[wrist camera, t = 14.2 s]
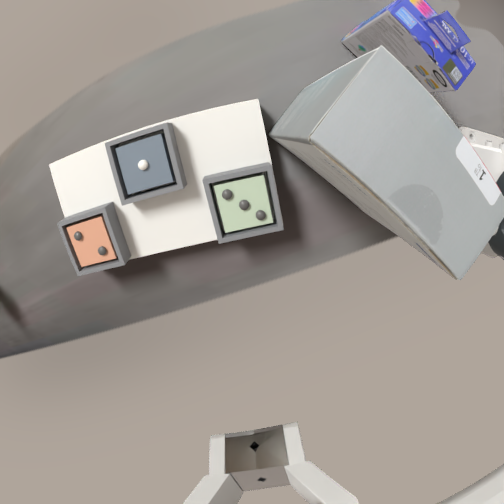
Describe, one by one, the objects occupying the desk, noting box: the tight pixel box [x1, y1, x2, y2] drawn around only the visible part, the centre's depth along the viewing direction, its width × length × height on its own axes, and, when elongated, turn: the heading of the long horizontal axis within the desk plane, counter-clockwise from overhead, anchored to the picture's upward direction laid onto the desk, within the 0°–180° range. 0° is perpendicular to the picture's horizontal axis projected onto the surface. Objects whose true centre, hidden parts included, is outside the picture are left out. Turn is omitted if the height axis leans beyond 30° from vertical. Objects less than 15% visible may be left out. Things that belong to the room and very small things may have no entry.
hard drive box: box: [269, 45, 504, 280], centre depth 25 cm, size 16×8×20 cm, turn 54°
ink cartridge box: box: [341, 0, 476, 93], centre depth 22 cm, size 10×6×14 cm, turn 50°
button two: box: [67, 213, 118, 267], centre depth 32 cm, size 5×5×2 cm
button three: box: [214, 172, 273, 233], centre depth 31 cm, size 5×5×2 cm
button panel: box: [49, 99, 284, 276], centre depth 32 cm, size 25×14×6 cm, turn 102°
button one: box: [115, 133, 176, 195], centre depth 29 cm, size 5×5×2 cm
